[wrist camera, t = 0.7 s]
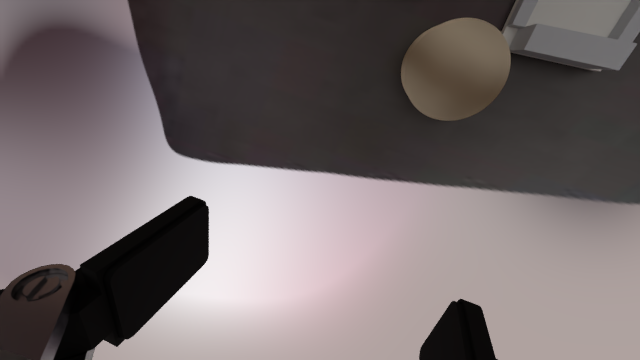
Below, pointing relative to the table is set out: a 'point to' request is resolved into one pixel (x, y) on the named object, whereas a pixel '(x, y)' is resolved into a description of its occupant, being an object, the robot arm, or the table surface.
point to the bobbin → (456, 68)
